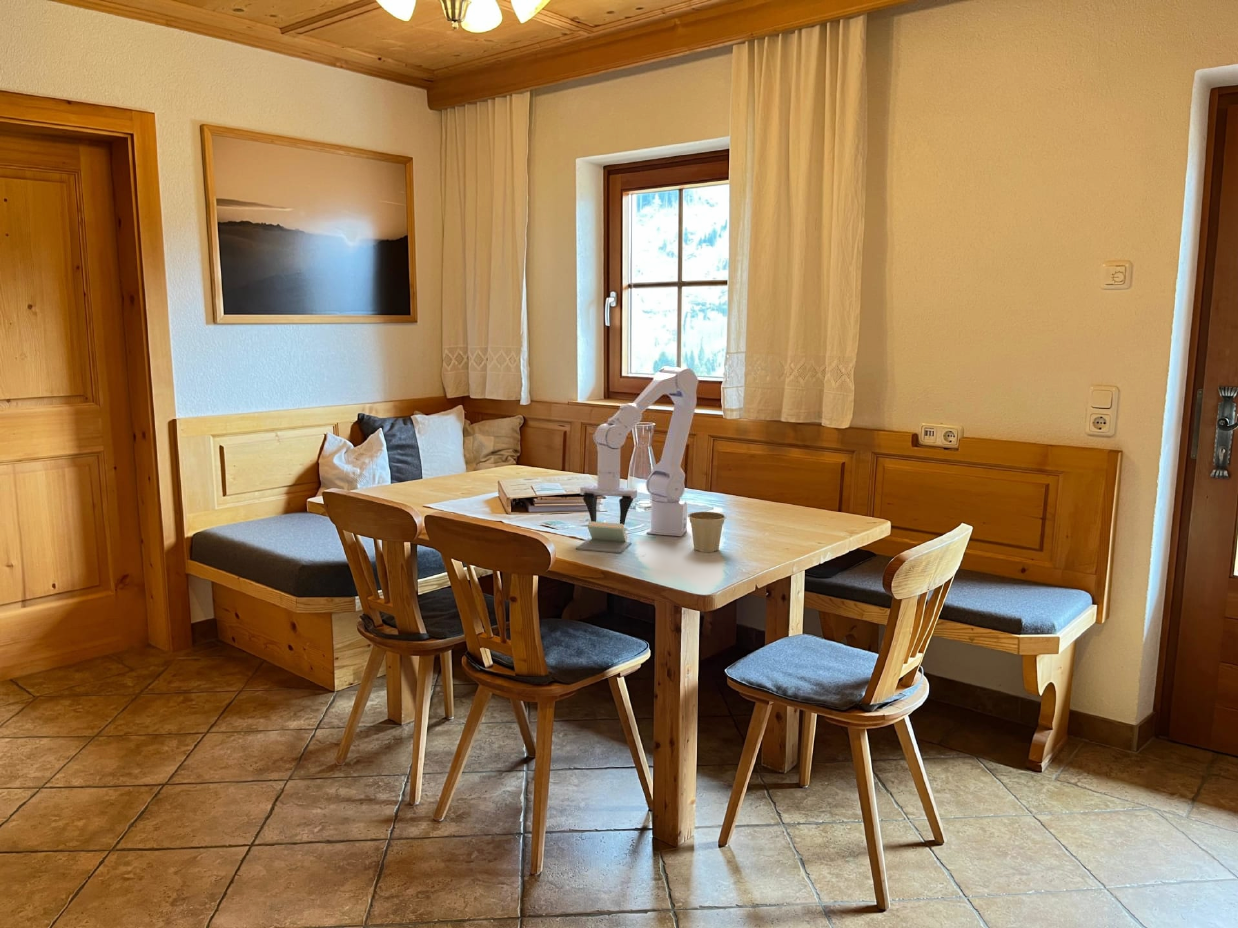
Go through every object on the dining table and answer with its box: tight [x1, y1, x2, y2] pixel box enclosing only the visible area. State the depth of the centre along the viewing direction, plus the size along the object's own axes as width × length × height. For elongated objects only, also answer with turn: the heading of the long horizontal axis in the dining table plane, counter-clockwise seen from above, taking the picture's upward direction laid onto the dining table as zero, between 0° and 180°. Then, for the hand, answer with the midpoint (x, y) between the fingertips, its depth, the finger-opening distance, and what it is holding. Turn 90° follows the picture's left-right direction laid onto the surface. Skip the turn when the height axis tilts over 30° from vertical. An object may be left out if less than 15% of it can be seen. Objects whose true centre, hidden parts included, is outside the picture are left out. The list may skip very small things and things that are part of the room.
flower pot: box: [687, 511, 727, 553], centre depth 231 cm, size 9×9×9 cm
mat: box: [575, 538, 632, 554], centre depth 233 cm, size 12×10×1 cm
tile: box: [587, 520, 628, 542], centre depth 236 cm, size 9×2×6 cm
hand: (607, 523), depth 238 cm, fingers open, 7 cm apart
